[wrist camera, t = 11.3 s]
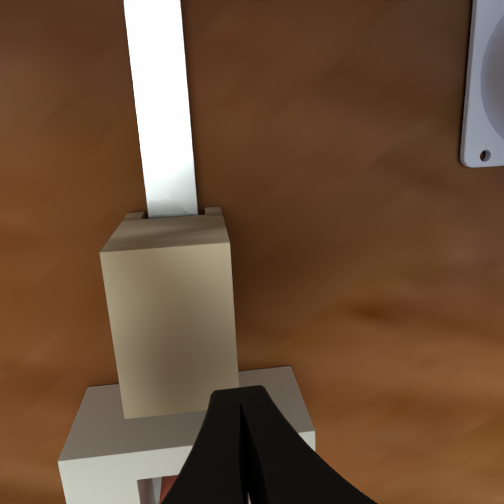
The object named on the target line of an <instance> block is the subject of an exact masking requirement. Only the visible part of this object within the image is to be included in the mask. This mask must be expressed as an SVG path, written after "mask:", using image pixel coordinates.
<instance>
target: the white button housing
mask: <svg viewBox="0 0 504 504" xmlns="http://www.w3.org/2000/svg"><path fill="white" fill-rule="evenodd" d="M238 377H239V387H247V386H255V385H262V386H263V387H265V388H266V390H267V392H268V394H269V395H270V397H271V399H272V400H273V402H274V403H275V405H276V406H277V407H278V409H279V410H280V412H281V413H282V414H283V416H284V417H285V418H286V419H287V421H288V422H289V423H290V424H291V426H292V427H293V428H294V429H295V430H296V432H297V433H298V434H299V435H300V436H301V437H302V438H303V440H304V441H305V442H306V443H307V444H308V445H309V446H310V447H311V448H312V449H313V450H314V451H315V429H314V427H313V424H312V422H311V419H310V416H309V414H308V411H307V408H306V406H305V403H304V400H303V398H302V395H301V392H300V390H299V387H298V384H297V382H296V379H295V376H294V374H293V371H292V368H291V366H286V367H276V368H267V369H257V370H247V371H238ZM206 412H207V410H203V411H194V412H185V413H176V414H167V415H158V416H149V417H140V418H131V419H125V418H124V411H123V405H122V398H121V392H120V385H119V384H113V385H103V386H93V387H88V388H87V390H86V393H85V395H84V398H83V400H82V403H81V405H80V408H79V410H78V413H77V415H76V418H75V420H74V423H73V425H72V427H71V430H70V432H69V435H68V437H67V440H66V442H65V445H64V447H63V450H62V452H61V455H60V457H59V460H58V465H59V470H60V475H61V479H62V484H63V489H64V494H65V499H66V504H159V500H160V490H161V480H162V477H163V476H171V475H178V474H179V473H180V471H181V469H182V467H183V465H184V463H185V461H186V459H187V457H188V455H189V453H190V451H191V449H192V447H193V445H194V443H195V440H196V438H197V436H198V433H199V431H200V429H201V426H202V424H203V421H204V418H205V415H206ZM248 504H251V503H250V498H249V494H248Z"/></svg>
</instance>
